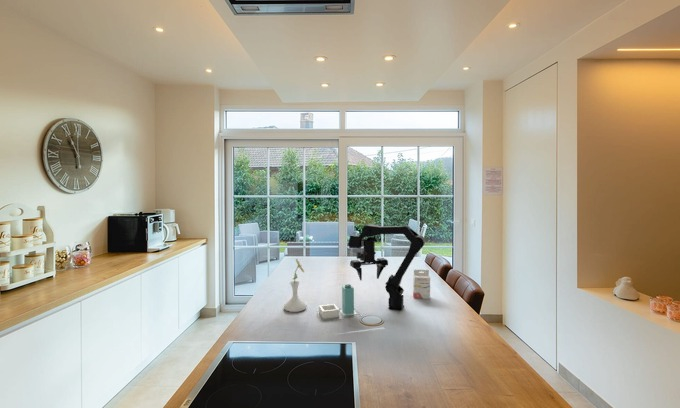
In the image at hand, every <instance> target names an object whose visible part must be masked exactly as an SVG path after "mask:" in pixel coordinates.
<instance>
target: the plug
mask: <svg viewBox="0 0 680 408" xmlns="http://www.w3.org/2000/svg"><path fill="white" fill-rule="evenodd" d="M341 289H342V290H341V295H342V297H341V300H342V301H341V303H342V307H341V308H342V311H343V312H344V313H345V314H351V313H354V308H355V288H354V287H353V286H352V284H345V285H343V286H342V287H341Z"/></svg>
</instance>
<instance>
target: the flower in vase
mask: <svg viewBox="0 0 680 408" xmlns="http://www.w3.org/2000/svg"><path fill="white" fill-rule="evenodd" d="M295 262H296V264H297V266H296V269H295V271H294V275H293V276H294V277H293V278H292V281H289V284H290V285H291V288H292V296H291V298H290V299H289V300H288V301H287V302H285V304H284V305H283V309H284V310H285V311H287V312H290V313H298V312H301V311H304V310H306V309H307V307H308V306H307V303H306V302H305V301H304V300H302V299H301V298H299V296H298V287H299V285H300V284H301V282H300V281H299V280H296V279H298V275H297V270H298V268H299V270H300V271H301V272H303V273H305V269H304V268H303V266H302V264H300V261H299V260H298V258H295Z"/></svg>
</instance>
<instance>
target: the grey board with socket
mask: <svg viewBox="0 0 680 408" xmlns="http://www.w3.org/2000/svg"><path fill="white" fill-rule="evenodd" d="M315 312H316V314H317V316H318V318H319V319H320V321H321V322H329V321H334V320H336V321H337V320H344V319H351V318H358V317H359V318H360V317H362V314H361V313H359V312H358V310H356V308H355V307H354V313H351V314H345V313H344V312H343V311H342V307H340V308H339V307H338V306H337V305H336V304H335V303H331V304H322V305H321V304H320V305H318V310H315Z"/></svg>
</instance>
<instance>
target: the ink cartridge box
mask: <svg viewBox="0 0 680 408" xmlns="http://www.w3.org/2000/svg"><path fill="white" fill-rule="evenodd" d="M429 273H430V271H429V269H413V282H412V283H413V284H412V285H413V286H412V289H413V290H412V293H413V294H412V296H413V298H414V299H431V276H430V274H429Z"/></svg>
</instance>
